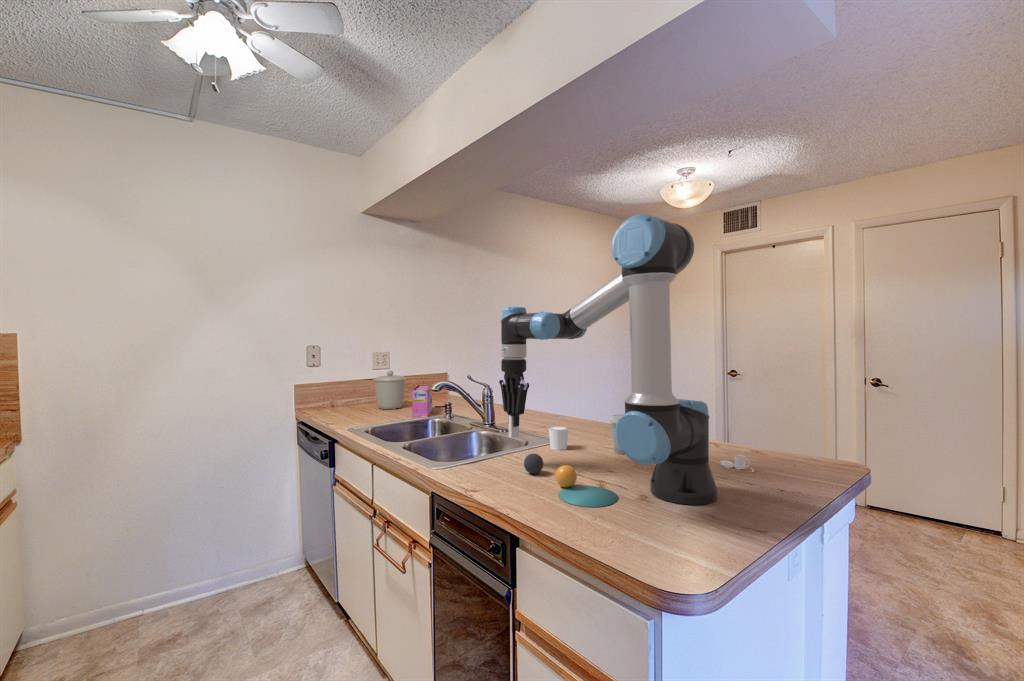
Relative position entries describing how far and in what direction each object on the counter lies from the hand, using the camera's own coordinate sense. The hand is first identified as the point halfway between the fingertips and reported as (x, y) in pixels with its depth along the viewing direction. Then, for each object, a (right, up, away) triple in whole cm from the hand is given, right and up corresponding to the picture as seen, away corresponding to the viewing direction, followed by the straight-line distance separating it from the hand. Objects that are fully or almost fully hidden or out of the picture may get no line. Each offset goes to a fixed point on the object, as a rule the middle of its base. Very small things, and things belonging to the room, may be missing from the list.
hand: (513, 436), depth 132 cm
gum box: (-47, -9, +95) cm, 106 cm away
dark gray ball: (+6, -6, -8) cm, 12 cm away
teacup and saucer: (+66, -9, -3) cm, 66 cm away
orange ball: (+13, -6, -20) cm, 25 cm away
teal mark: (+18, -9, -27) cm, 33 cm away
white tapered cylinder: (+16, -9, +20) cm, 27 cm away
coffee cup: (+37, -8, +14) cm, 40 cm away
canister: (-69, -9, +113) cm, 133 cm away
